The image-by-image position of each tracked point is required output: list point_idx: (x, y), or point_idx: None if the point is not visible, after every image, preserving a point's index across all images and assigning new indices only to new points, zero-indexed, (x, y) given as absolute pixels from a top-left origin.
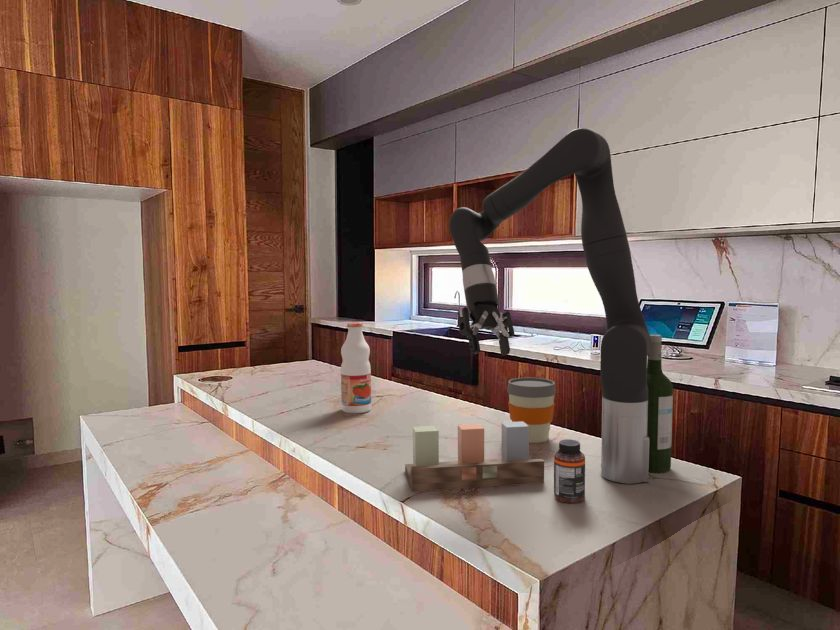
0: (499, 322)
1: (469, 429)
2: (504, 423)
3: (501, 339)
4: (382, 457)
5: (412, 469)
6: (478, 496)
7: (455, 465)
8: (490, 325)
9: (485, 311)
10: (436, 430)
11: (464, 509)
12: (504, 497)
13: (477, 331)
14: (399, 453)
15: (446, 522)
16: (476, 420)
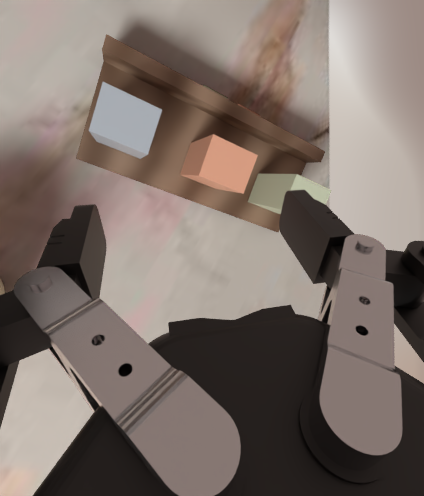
0: (113, 353)
1: (242, 148)
2: (146, 142)
3: (88, 291)
4: (271, 295)
5: (323, 151)
6: (240, 79)
7: (266, 125)
8: (221, 328)
9: (379, 443)
10: (298, 178)
11: (282, 52)
12: (209, 48)
13: (347, 256)
14: (244, 302)
15: (322, 32)
16: (18, 435)
